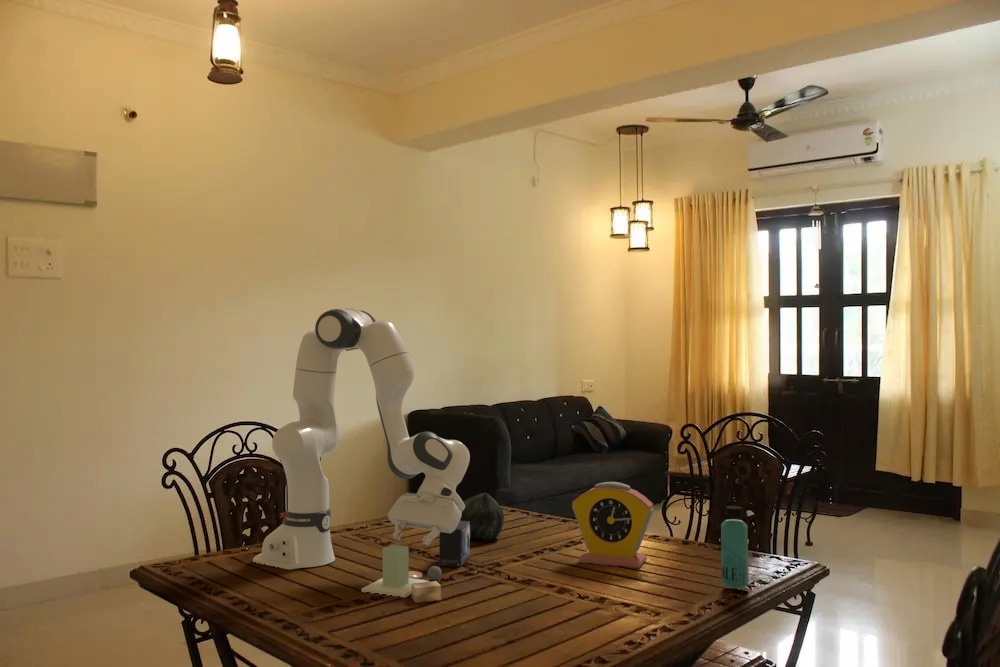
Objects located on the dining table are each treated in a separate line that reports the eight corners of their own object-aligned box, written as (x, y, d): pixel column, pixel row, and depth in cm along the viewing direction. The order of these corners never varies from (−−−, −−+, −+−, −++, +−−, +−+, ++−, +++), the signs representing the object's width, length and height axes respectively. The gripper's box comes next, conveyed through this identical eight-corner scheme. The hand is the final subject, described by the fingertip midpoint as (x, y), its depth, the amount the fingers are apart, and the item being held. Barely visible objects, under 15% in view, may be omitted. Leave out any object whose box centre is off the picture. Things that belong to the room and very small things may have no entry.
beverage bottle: (749, 587, 198) (748, 504, 199) (748, 595, 192) (747, 509, 192) (722, 585, 201) (721, 503, 201) (720, 592, 194) (719, 508, 195)
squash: (454, 514, 261) (457, 484, 251) (500, 515, 262) (505, 485, 253) (454, 552, 250) (458, 522, 240) (503, 553, 252) (508, 523, 242)
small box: (461, 568, 218) (461, 528, 218) (438, 566, 219) (438, 527, 220) (471, 557, 228) (471, 520, 229) (448, 556, 230) (448, 519, 230)
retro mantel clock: (569, 562, 223) (568, 482, 224) (578, 554, 232) (578, 477, 232) (649, 569, 215) (648, 487, 215) (656, 561, 223) (655, 482, 224)
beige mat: (361, 591, 197) (361, 588, 197) (387, 578, 208) (387, 575, 208) (405, 597, 192) (405, 594, 192) (429, 583, 203) (429, 580, 203)
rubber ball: (425, 581, 205) (424, 567, 205) (431, 578, 209) (431, 563, 209) (437, 583, 204) (437, 568, 204) (444, 579, 207) (444, 565, 207)
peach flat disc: (389, 580, 208) (389, 577, 208) (403, 573, 215) (403, 570, 215) (414, 582, 206) (414, 579, 206) (427, 575, 212) (427, 572, 212)
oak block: (415, 603, 188) (415, 588, 189) (411, 598, 192) (411, 583, 192) (440, 600, 190) (440, 585, 191) (436, 595, 194) (436, 581, 194)
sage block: (382, 585, 200) (382, 548, 200) (394, 580, 203) (394, 544, 204) (396, 588, 197) (396, 550, 197) (408, 583, 201) (408, 546, 201)
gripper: (398, 484, 218) (373, 528, 209) (460, 492, 206) (436, 539, 198) (409, 499, 221) (384, 542, 213) (470, 507, 210) (447, 553, 202)
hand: (410, 541), depth 205 cm, fingers open, 8 cm apart
